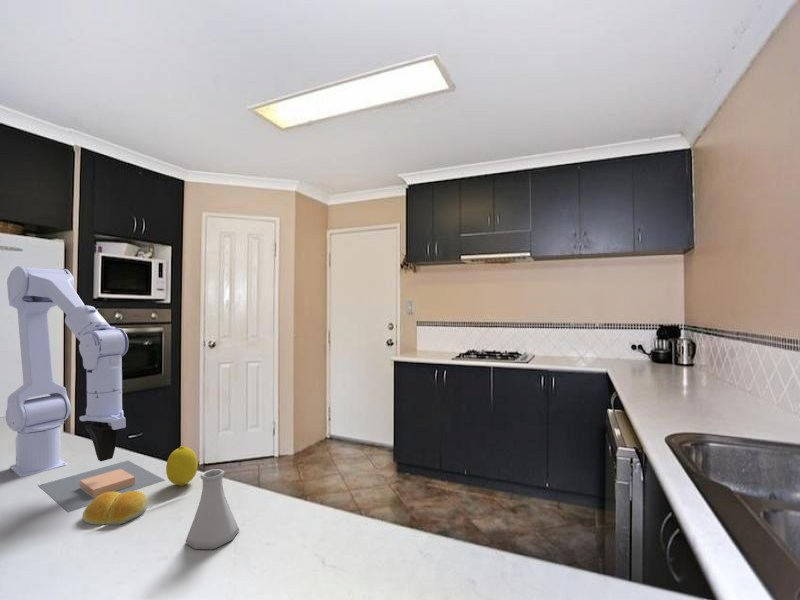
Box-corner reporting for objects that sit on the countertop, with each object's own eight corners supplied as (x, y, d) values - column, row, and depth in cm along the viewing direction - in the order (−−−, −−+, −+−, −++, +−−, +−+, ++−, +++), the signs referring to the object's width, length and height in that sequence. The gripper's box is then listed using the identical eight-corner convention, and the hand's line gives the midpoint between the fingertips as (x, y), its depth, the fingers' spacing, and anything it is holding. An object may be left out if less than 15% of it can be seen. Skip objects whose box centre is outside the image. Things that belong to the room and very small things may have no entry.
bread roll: (135, 525, 70) (135, 501, 70) (75, 530, 68) (74, 505, 68) (156, 501, 78) (155, 480, 78) (102, 505, 77) (102, 483, 76)
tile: (80, 480, 82) (93, 489, 78) (120, 468, 88) (134, 476, 84) (80, 488, 82) (93, 497, 78) (120, 475, 88) (135, 484, 84)
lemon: (203, 481, 86) (203, 441, 86) (187, 493, 81) (186, 451, 81) (177, 480, 87) (177, 441, 87) (159, 492, 81) (159, 450, 81)
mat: (38, 487, 84) (37, 485, 84) (128, 462, 97) (128, 460, 97) (68, 514, 73) (68, 512, 73) (165, 482, 86) (165, 480, 86)
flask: (248, 529, 68) (247, 467, 68) (214, 555, 61) (214, 486, 61) (211, 522, 70) (211, 461, 70) (175, 546, 63) (175, 479, 63)
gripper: (67, 389, 85) (68, 457, 85) (94, 399, 76) (95, 474, 76) (108, 383, 91) (108, 447, 91) (137, 392, 82) (138, 462, 82)
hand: (105, 459), depth 84 cm, fingers closed
